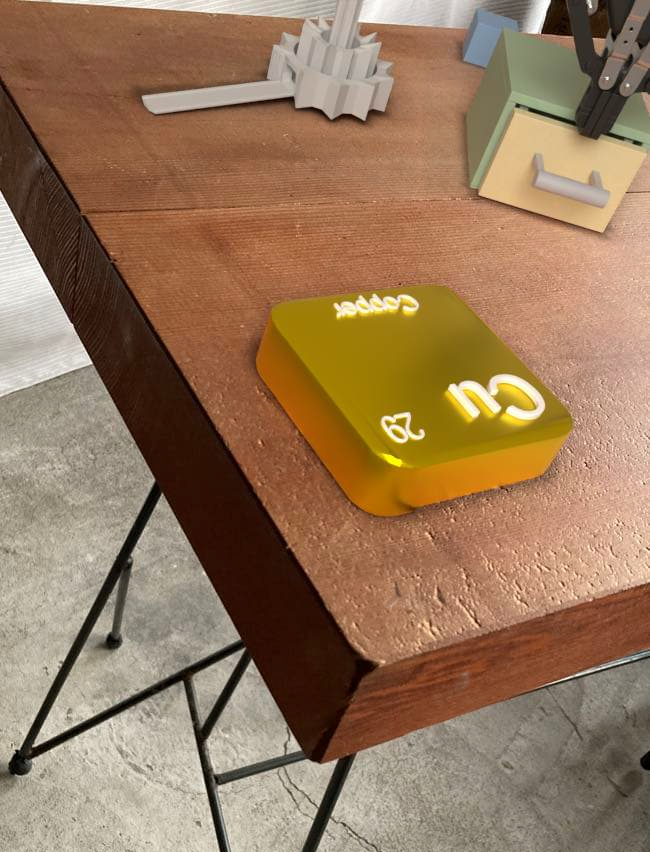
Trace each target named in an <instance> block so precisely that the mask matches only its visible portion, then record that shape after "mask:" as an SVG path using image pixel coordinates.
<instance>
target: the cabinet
mask: <svg viewBox="0 0 650 852" xmlns="http://www.w3.org/2000/svg"><path fill="white" fill-rule="evenodd" d="M590 81H591V77H590V76H589V75H587V74H585V73H583V72H582V71H581V69H580V65H579V61H578V58H577V53H576V49H573V48H570V47H566V46H563V45H562V44H561V45H560V44H558V43H554V42H552V41H548V40H545V39H542V38H538V37H536V36H532V35H529V34H526V33H523V32H520V31H519V32H517V31H514V30H511V29H507V28H504V27H503V29H502V31H501V34H500V37H499V38H498V41H497V43H496V46H495V48H494V51H493V53H492V55H491V58H490V60H489V63H488V65H487V68H485V70H484V73H483V75H482V77H481V80H480V82H479V85H478V87H477V89H476V92H475V94H474V96H473V100H472V101H471V104H470V105H469V106H470V107H469V109H468V111H467V113H466V116H465V121H466V123H465V124H466V140H467V141H466V142H467V144H466V145H467V162H468V163H467V164H468V181H469V187H470V188H473V189H476V190H478V187H479V185H480V183H481V181H482V178H483V176H484V174H485V172H486V169H487V167H488V165H489V163H490V160H491V158H492V156H493V154H494V151H495V149H496V147H497V145H498V142H499V140H500V138H501V136H502V133H503V131H504V129H505V127H506V125H507V122H508V120H509V118H510V116H511V113H512V111H513V109H514V107H515V106H516V103H518V104H521V105H524V106H527V107H530V108H534V109H537V110H540V111H543V112H546V113H550V114H553V115H556V116H559V117H562V118H566V119H569V120H572V121H575V112H576V109H577V107H578V105H579V103H580V101H581V100H582V97H583V95H584V93H585V91H586V89H587V87H588V85H589V83H590ZM575 122H576V121H575ZM609 132H610V133H613V134H617V135H620V136H623V137H626V138H629V139H633V140H634V141H633V143H632V144H634V145H637V146H640V147H644V148H645V149H646V152H647V155H648V154H649V152H650V114H649V110H648V107H647V105H646V102H645V99H644V96H643V94H642V93H635V94H633V95H631V96H630V97H629V98H628V99H627V101H626V103H625V105H624V107H623V109H622V110H621V112H620V114H619V116H618V118H617V120H616V122H615V124H614V125H613V127H612V129H611V130H610V131H609Z"/></svg>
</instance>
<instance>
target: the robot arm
mask: <svg viewBox="0 0 650 852" xmlns="http://www.w3.org/2000/svg"><path fill="white" fill-rule="evenodd" d="M565 3H566V8H567V13H568V18H569V22H570V28H571V32H572V38H573V41H574V42H573V43H574V47H575V50H576V53H577V58H578V61H579V65H580V69H581V71H582V72H583V73H585V74H587V75H589V76H590V77H591V81H590V83H589V85H588V87H587V89H586V91H585V93H584V95H583V97H582V100H581V101H580V103H579V105H578V107H577V109H576V112H575V121H576V125H577V129H578V133H579V135H581V136H584V137H588V138H591V139H594V140H598V138H599V137H600V135H601V133H602V134H605V135H606V134H607V133H608V132H609V131H610V130H611V129H612V127H613V125H614V124H615V122H616V120H617V118H618V116H619V114H620V112H621V110H622V109H623V107H624V105H625V103H626V101H627V99H628V98H629V97H630V96H631V95H633V94H635V93H641V94H642V93H647V95H649V96H650V0H604V3H605V11H606V17H607V19H606V20H607V23H608V26H609V29H608V32H607V34H606V37H605V41H604V46H603V48H602V51H601V53H600V54H598V52H596V48H595V41H594V36H593V32H592V26H591V22H590V16H592V15H594V14H595V13H596V12H597V10H598V9H599V0H565Z"/></svg>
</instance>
